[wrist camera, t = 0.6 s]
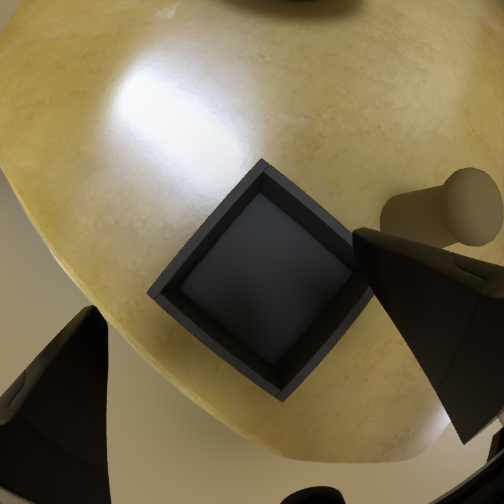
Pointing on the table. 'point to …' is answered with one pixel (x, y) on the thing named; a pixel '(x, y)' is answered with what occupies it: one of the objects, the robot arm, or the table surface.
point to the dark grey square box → (266, 282)
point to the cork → (448, 211)
